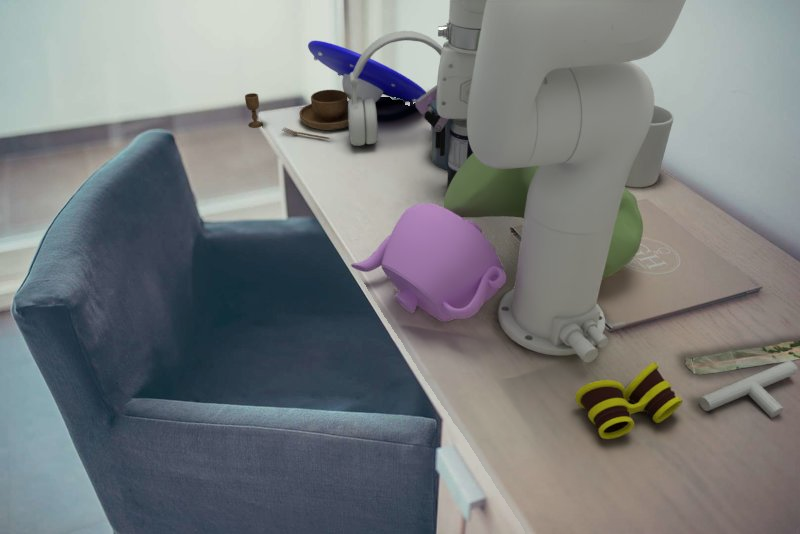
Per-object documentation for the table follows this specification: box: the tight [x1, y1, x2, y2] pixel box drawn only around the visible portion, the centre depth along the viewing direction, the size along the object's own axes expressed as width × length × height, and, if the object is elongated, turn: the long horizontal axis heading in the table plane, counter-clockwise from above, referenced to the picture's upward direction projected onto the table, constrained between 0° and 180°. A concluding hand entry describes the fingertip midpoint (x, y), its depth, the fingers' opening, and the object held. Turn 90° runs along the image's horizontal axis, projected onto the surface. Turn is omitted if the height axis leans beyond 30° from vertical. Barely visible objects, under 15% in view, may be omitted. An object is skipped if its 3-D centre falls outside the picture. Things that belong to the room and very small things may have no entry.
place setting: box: [244, 89, 349, 140], centre depth 125 cm, size 18×20×6 cm
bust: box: [442, 153, 644, 280], centre depth 81 cm, size 14×15×25 cm
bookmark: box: [684, 340, 800, 376], centre depth 73 cm, size 3×21×1 cm, turn 101°
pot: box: [430, 110, 454, 171], centre depth 110 cm, size 10×10×10 cm
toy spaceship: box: [307, 40, 427, 104], centre depth 125 cm, size 25×25×7 cm
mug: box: [625, 104, 674, 188], centre depth 104 cm, size 12×8×11 cm
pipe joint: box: [698, 361, 799, 418], centre depth 67 cm, size 12×2×4 cm
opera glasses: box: [574, 362, 683, 440], centre depth 65 cm, size 10×5×5 cm, turn 112°
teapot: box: [350, 202, 507, 322], centre depth 77 cm, size 20×13×12 cm
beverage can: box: [446, 119, 473, 189], centre depth 100 cm, size 6×6×12 cm
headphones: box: [348, 30, 443, 147], centre depth 112 cm, size 20×8×19 cm, turn 97°
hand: (467, 151), depth 99 cm, fingers open, 7 cm apart
